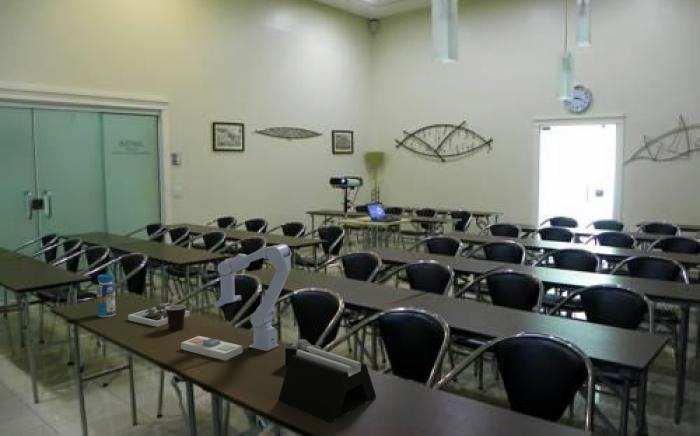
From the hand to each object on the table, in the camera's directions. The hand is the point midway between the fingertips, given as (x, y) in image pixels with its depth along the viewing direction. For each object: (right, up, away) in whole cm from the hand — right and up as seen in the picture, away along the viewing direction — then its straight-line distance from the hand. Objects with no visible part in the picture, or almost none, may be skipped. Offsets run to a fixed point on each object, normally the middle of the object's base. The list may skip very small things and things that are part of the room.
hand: (228, 320), depth 232 cm
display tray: (-41, -5, +34) cm, 53 cm away
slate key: (-4, -8, -11) cm, 14 cm away
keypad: (-4, -11, -10) cm, 15 cm away
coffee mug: (-28, -7, +19) cm, 34 cm away
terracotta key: (-11, -9, -6) cm, 16 cm away
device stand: (+44, -16, -54) cm, 72 cm away
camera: (+34, -13, -25) cm, 44 cm away
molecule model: (-42, -6, +36) cm, 56 cm away
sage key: (+3, -10, -14) cm, 18 cm away
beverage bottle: (-68, -5, +38) cm, 79 cm away
